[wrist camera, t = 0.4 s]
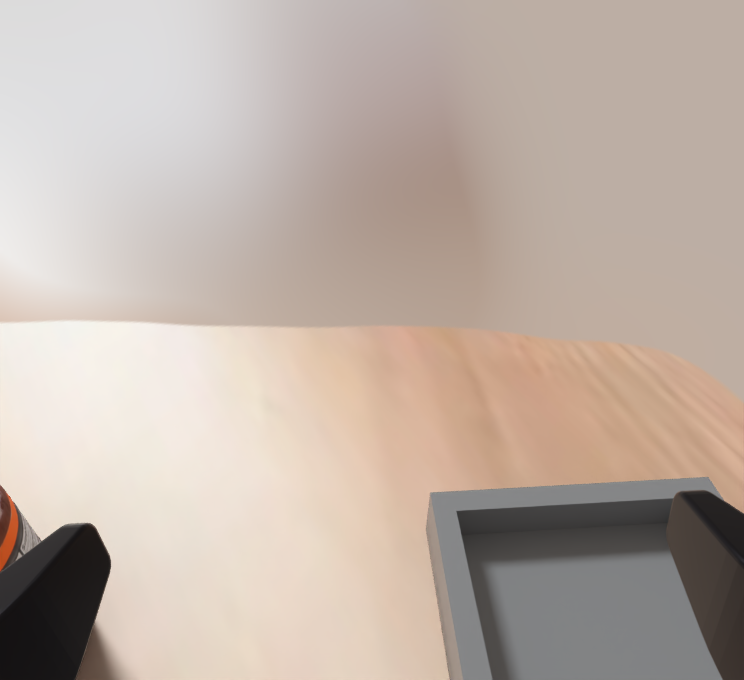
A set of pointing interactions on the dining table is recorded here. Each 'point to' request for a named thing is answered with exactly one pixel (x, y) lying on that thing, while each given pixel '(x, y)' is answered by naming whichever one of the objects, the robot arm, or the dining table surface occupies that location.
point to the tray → (564, 583)
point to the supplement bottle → (13, 532)
